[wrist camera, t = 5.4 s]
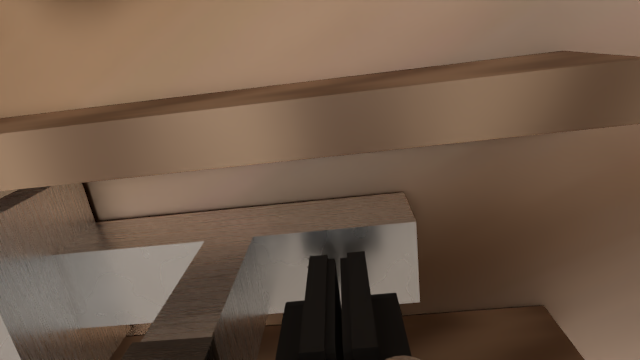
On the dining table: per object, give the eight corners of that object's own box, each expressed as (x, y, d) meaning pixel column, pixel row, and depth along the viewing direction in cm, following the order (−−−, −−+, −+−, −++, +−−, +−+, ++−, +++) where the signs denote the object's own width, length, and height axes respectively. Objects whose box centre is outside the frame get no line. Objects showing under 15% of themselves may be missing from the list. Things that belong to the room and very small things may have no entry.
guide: (562, 51, 13) (683, 60, 9) (541, 336, 17) (617, 449, 13) (-197, 142, 16) (-427, 188, 11) (-64, 378, 19) (-191, 488, 15)
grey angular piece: (400, 137, 14) (471, 251, 7) (410, 307, 17) (470, 531, 9) (48, 175, 15) (-230, 311, 8) (104, 330, 18) (-67, 549, 10)
